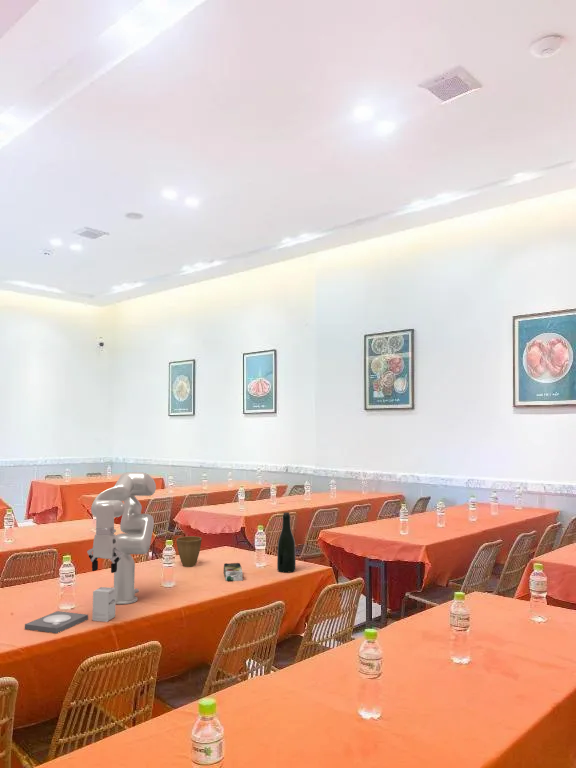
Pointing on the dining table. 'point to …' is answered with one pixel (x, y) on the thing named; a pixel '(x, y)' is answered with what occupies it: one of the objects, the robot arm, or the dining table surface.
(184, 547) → the plant pot
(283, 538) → the beer bottle
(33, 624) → the mount plate
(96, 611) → the supplement box
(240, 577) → the juice carton
